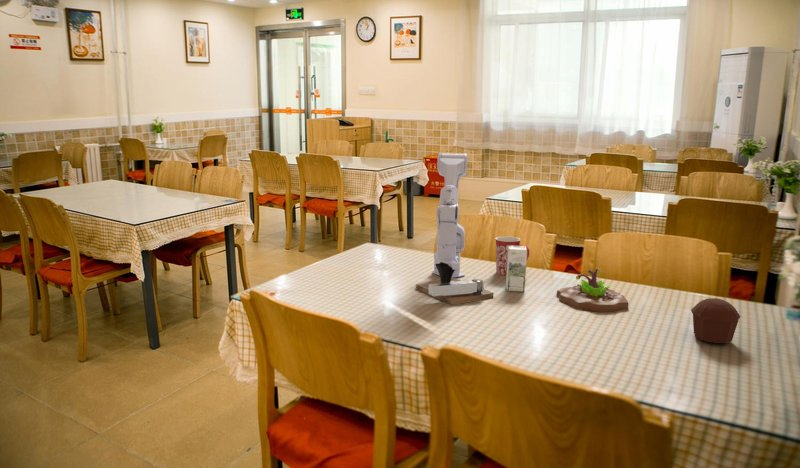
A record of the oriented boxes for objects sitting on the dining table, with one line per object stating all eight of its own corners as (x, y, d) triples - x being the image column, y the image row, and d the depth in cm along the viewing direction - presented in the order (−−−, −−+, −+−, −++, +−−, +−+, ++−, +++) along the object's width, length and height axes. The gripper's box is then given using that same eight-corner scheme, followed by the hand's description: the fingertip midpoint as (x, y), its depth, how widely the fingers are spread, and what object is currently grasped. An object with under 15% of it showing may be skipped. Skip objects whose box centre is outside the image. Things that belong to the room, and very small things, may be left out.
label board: (415, 288, 192) (416, 282, 191) (454, 282, 200) (454, 276, 200) (452, 304, 175) (452, 298, 175) (493, 297, 183) (493, 291, 183)
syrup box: (522, 287, 195) (525, 245, 192) (524, 292, 189) (527, 249, 186) (505, 287, 195) (507, 244, 193) (507, 292, 189) (509, 248, 187)
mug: (489, 275, 209) (490, 238, 207) (500, 270, 217) (502, 235, 214) (521, 281, 202) (523, 243, 200) (532, 276, 209) (534, 239, 207)
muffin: (694, 326, 160) (698, 291, 158) (740, 336, 153) (745, 299, 151) (683, 338, 151) (687, 301, 149) (731, 349, 144) (736, 310, 142)
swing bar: (479, 288, 184) (479, 278, 184) (485, 291, 181) (485, 281, 180) (428, 293, 178) (428, 283, 177) (432, 296, 175) (433, 286, 174)
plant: (576, 313, 170) (579, 276, 168) (549, 294, 189) (551, 260, 187) (639, 310, 173) (642, 274, 171) (606, 292, 192) (609, 259, 190)
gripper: (469, 247, 172) (467, 291, 175) (448, 238, 186) (447, 279, 188) (447, 249, 170) (446, 293, 173) (428, 239, 183) (427, 281, 186)
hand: (445, 286), depth 180 cm, fingers closed
